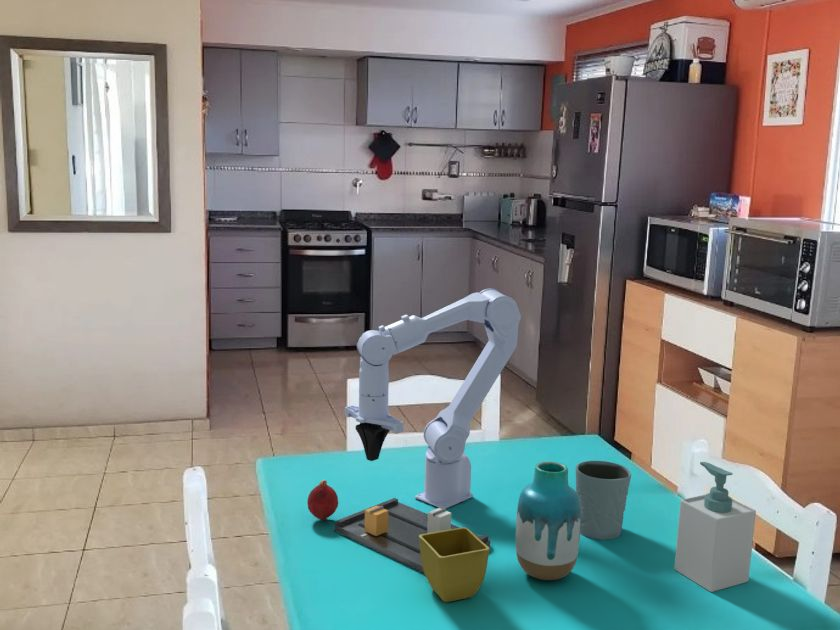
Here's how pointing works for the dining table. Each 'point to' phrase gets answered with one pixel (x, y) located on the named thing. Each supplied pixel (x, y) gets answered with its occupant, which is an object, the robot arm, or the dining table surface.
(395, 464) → the dining table surface
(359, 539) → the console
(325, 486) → the onion
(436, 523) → the fader
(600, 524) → the grey textured cup
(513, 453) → the dining table surface
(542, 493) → the vase
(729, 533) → the soap bottle
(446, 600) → the flower pot
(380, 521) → the fader
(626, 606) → the dining table surface
